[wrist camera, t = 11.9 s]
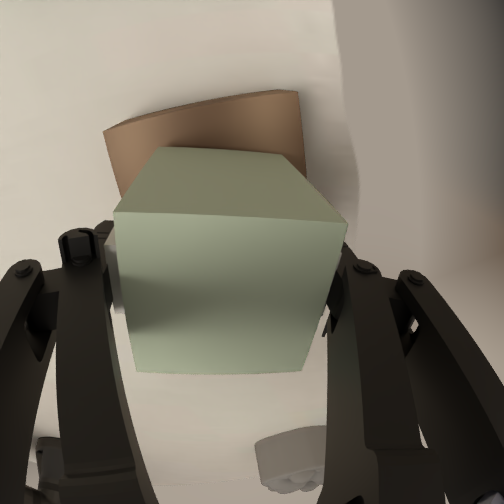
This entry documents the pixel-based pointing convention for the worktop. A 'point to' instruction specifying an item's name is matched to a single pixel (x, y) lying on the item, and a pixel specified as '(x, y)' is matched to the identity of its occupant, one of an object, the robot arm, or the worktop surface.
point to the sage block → (224, 262)
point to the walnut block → (210, 131)
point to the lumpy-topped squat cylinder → (292, 459)
